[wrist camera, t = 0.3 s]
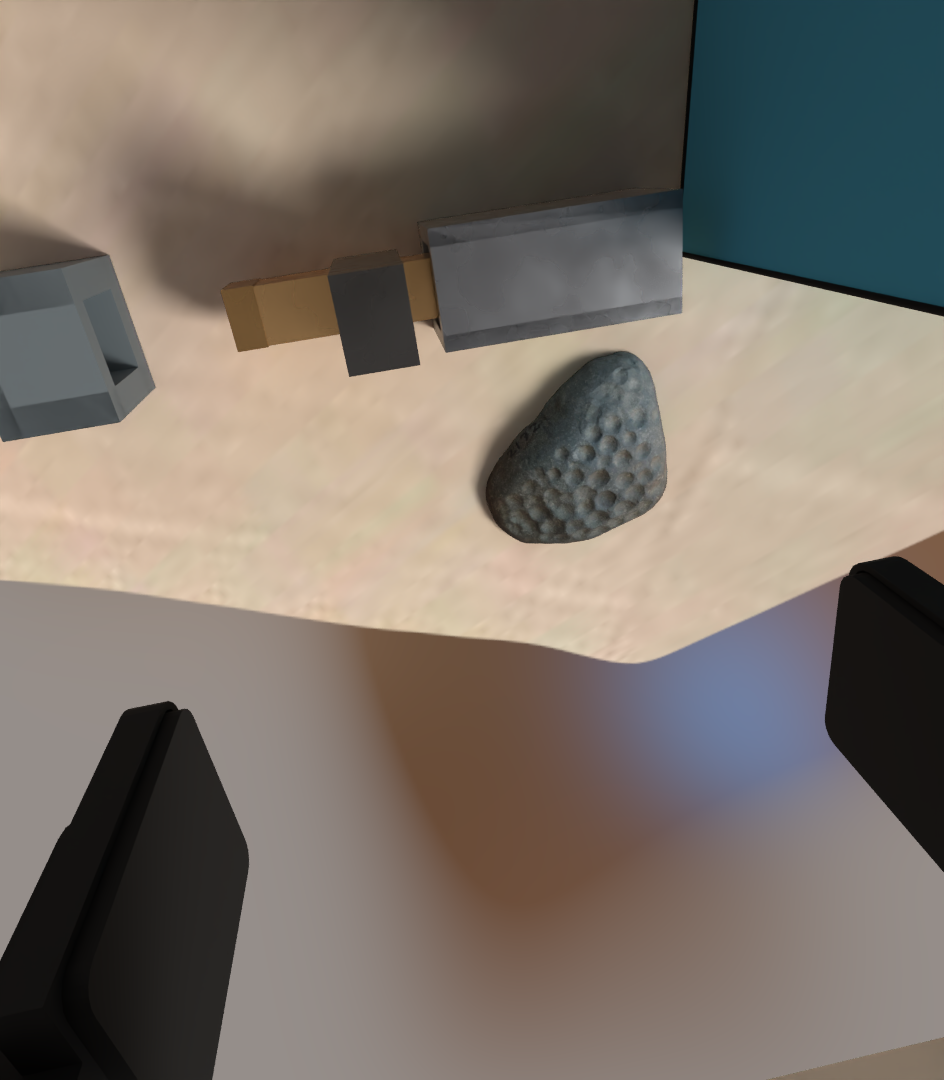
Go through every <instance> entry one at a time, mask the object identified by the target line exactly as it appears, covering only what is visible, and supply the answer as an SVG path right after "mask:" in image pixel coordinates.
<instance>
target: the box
mask: <svg viewBox="0 0 944 1080" xmlns="http://www.w3.org/2000/svg"><path fill="white" fill-rule="evenodd" d="M680 189H683V251H682V257H685V258H690V259H694V260H699V261H703V262H707V263H712V264H716V265H720V266H725V267H729V268H734V269H738V270H742V271H747V272H751V273H755V274H760V275H764V276H769V277H773V278H777V279H782V280H786V281H791V282H795V283H799V284H804V285H808V286H812V287H817V288H821V289H826V290H830V291H834V292H839V293H843V294H847V295H852V296H856V297H861V298H865V299H869V300H874V301H878V302H882V303H887V304H891V305H896V306H900V307H904V308H909V309H913V310H918V311H922V312H926V313H931V314H935V315H939V316H944V0H694V12H693V25H692V39H691V52H690V66H689V79H688V92H687V106H686V119H685V133H684V146H683V159H682V173H681V186H680Z"/></svg>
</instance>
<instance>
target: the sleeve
mask: <svg viewBox="0 0 944 1080" xmlns="http://www.w3.org/2000/svg"><path fill="white" fill-rule="evenodd" d="M417 223H418V229H419V236H420V242H421V249H422V254H424V253H429V254H430V261H431V267H432V274H433V281H434V287H435V294H436V301H437V307H438V314H439V318H435V319H433V326H434V330H435V332H436V334H437V336H438V338H439V340H440V342H441V344H442V346H443V348H444V350H445V352H446V353H447V352H453V351H459V350H465V349H471V348H477V347H483V346H489V345H495V344H501V343H507V342H512V341H518V340H524V339H530V338H536V337H542V336H548V335H554V334H560V333H566V332H572V331H578V330H584V329H590V328H596V327H602V326H608V325H614V324H620V323H626V322H632V321H638V320H644V319H650V318H656V317H662V316H668V315H674V314H680V313H682V251H683V189H662V188H632V189H626V190H619V191H613V192H606V193H600V194H594V195H587V196H581V197H574V198H568V199H561V200H555V201H549V202H542V203H536V204H529V205H523V206H516V207H510V208H504V209H497V210H491V211H484V212H478V213H471V214H465V215H459V216H452V217H446V218H439V219H433V220H427V221H420V222H417Z"/></svg>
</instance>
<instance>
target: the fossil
mask: <svg viewBox="0 0 944 1080" xmlns="http://www.w3.org/2000/svg"><path fill="white" fill-rule="evenodd" d="M666 484H667V464H666V444H665V437H664V433H663V428H662V422H661V416H660V411H659V406H658V402H657V397H656V391H655V386H654V383H653V380H652V377H651V374H650V371H649V370H648V368H647V367H646V366H645V364H644V363H643V361H641V360H640V359H639V358H638V357H637V356H636V355H633V354H631V353H627V352H616V353H614V354H612V355H608V356H604V357H599V358H596V359H594V360H592V361H590V362H588V363H587V364H585V365H584V366H583V367H582V368H581V369H580V370H578V371H577V372H576V373H575V374H574V375H573V376H572V377H571V378H570V379H569V380H568V381H567V382H565V383H564V384H563V385H562V386H561V387H560V388H559V390H558V391H557V392H556V393H555V394H554V395H553V396H552V397H551V398H550V399H549V401H548V402H547V403H546V404H545V406H544V409H543V410H542V411H541V413H540V414H539V416H538V417H537V418H536V419H535V420H534V422H533V423H531V424H530V425H529V426H527V427H526V428H525V429H523V430H522V431H521V432H520V433H519V435H518V436H517V437H516V438H515V440H514V441H513V442H512V444H511V445H510V446H509V448H508V449H507V450H506V452H505V453H504V454H503V455H502V457H501V458H500V459H499V461H498V462H497V464H496V465H495V467H494V469H493V471H492V473H491V474H490V477H489V479H488V482H487V487H486V500H487V503H488V506H489V508H490V511H491V513H492V515H493V518H494V519H495V521H496V523H497V524H498V525H499V526H500V527H501V528H502V529H503V530H504V531H505V532H506V533H507V534H509V535H510V536H512V537H513V538H515V539H517V540H519V541H520V542H524V543H544V544H552V543H571V542H577V541H584V540H589V539H592V538H594V537H597V536H599V535H601V534H603V533H605V532H608V531H609V530H611V529H613V528H616V527H618V526H620V525H622V524H624V523H626V522H628V521H631V520H633V519H635V518H637V517H639V516H641V515H643V514H645V513H646V512H647V511H649V510H650V509H651V508H653V507H654V506H655V504H656V503H657V502H658V501H659V500H660V498H661V497H662V495H663V493H664V490H665V488H666Z"/></svg>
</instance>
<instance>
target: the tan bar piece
mask: <svg viewBox="0 0 944 1080" xmlns="http://www.w3.org/2000/svg"><path fill="white" fill-rule="evenodd" d="M221 294H222V298H223V301H224V305H225V308H226V312H227V315H228V319H229V322H230V326H231V329H232V333H233V336H234V340H235V343H236V346H237V350H238V352H241V351H248V350H254V349H260V348H266V347H269V346H270V345H276V344H282V343H289V342H295V341H301V340H307V339H313V338H319V337H325V336H331V335H337V334H340V337H341V341H342V346H343V350H344V355H345V359H346V364H347V369H348V373H349V377H351V376H357V375H363V374H369V373H375V372H381V371H387V370H393V369H399V368H405V367H411V366H417V365H420V361H419V355H418V349H417V343H416V337H415V331H414V325H413V322H416V321H422V320H428V319H435V318H439V314H438V307H437V301H436V294H435V287H434V281H433V274H432V267H431V261H430V254H429V253H424V254H417V255H411V256H405V257H399V255H398V253H397V251H396V249H394V250H388V251H382V252H375V253H369V254H363V255H356V256H350V257H344V258H337V259H334V260H333V263H332V265H331V268H329V269H323V270H316V271H310V272H304V273H297V274H291V275H285V276H278V277H272V278H266V279H260V278H258V279H252V280H246V281H240V282H233V283H230V284H229V285H227V286H226V287H225V288H223V289H222V290H221Z"/></svg>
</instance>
